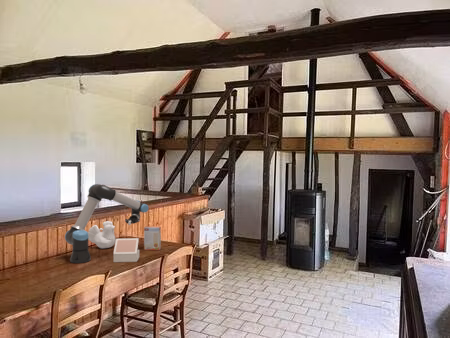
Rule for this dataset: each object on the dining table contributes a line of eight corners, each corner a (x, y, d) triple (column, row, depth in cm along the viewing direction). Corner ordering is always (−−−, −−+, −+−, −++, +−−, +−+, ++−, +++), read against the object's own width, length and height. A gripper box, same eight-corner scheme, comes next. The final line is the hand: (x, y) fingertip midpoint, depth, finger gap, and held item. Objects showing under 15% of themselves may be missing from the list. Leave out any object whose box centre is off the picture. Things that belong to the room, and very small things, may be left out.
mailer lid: (116, 239, 284) (116, 238, 284) (138, 238, 286) (138, 238, 285) (113, 254, 274) (113, 253, 274) (136, 253, 276) (136, 253, 276)
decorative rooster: (118, 246, 329) (118, 219, 328) (110, 250, 313) (110, 222, 313) (93, 244, 332) (93, 218, 332) (84, 248, 317) (84, 221, 316)
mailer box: (117, 257, 289) (117, 250, 288) (139, 257, 290) (139, 249, 290) (113, 262, 275) (113, 254, 274) (136, 261, 276) (136, 254, 276)
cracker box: (161, 249, 318) (161, 226, 317) (159, 250, 312) (159, 227, 311) (146, 248, 319) (146, 225, 319) (143, 250, 313) (143, 227, 313)
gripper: (141, 222, 317) (137, 227, 293) (126, 223, 315) (121, 228, 292) (141, 214, 316) (137, 218, 293) (126, 214, 315) (121, 219, 292)
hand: (129, 223), depth 292 cm, fingers closed
